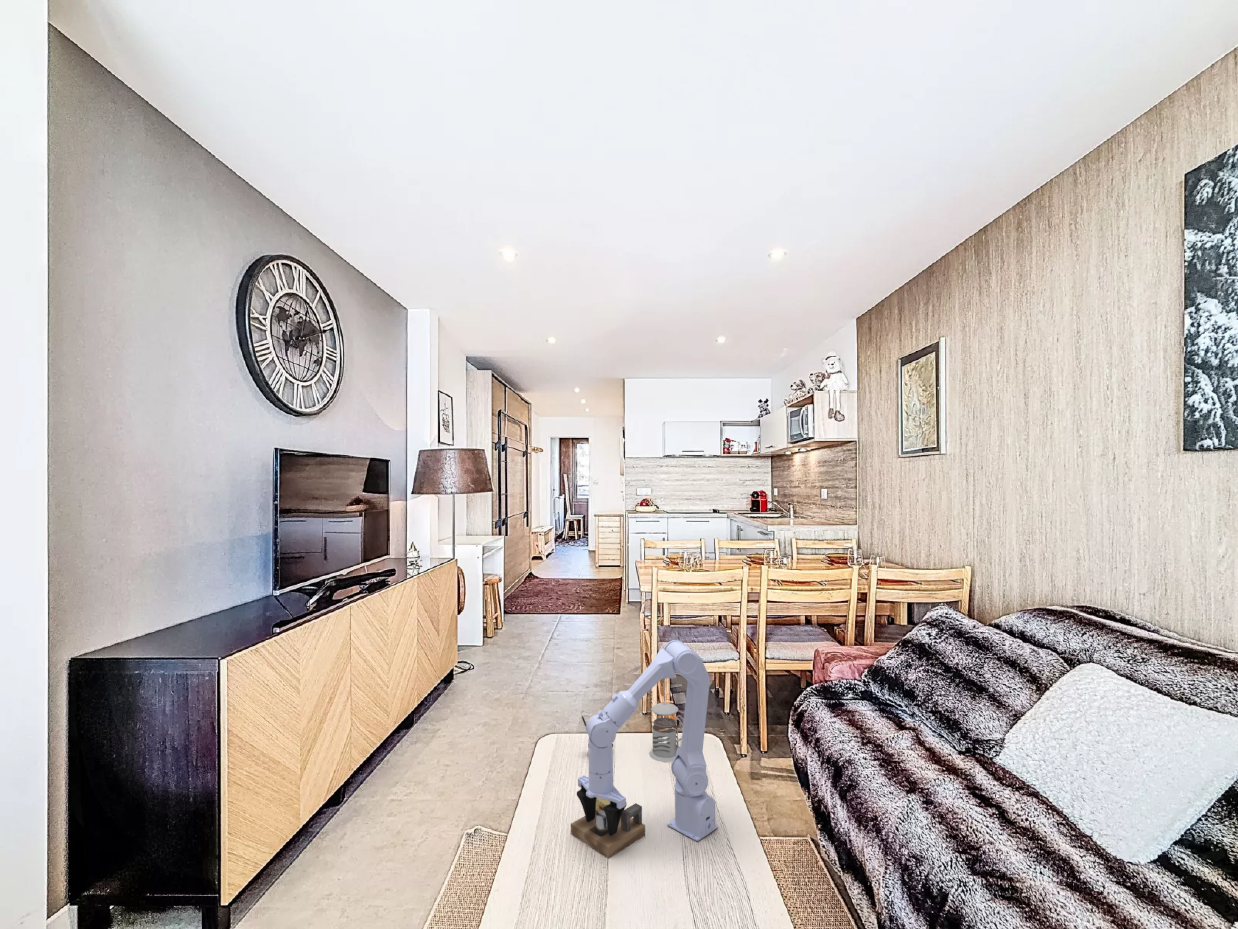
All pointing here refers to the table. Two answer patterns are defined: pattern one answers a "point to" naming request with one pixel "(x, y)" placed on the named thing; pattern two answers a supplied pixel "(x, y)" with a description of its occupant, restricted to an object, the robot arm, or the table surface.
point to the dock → (613, 844)
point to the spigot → (601, 824)
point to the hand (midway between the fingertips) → (601, 826)
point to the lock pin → (601, 803)
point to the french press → (669, 749)
